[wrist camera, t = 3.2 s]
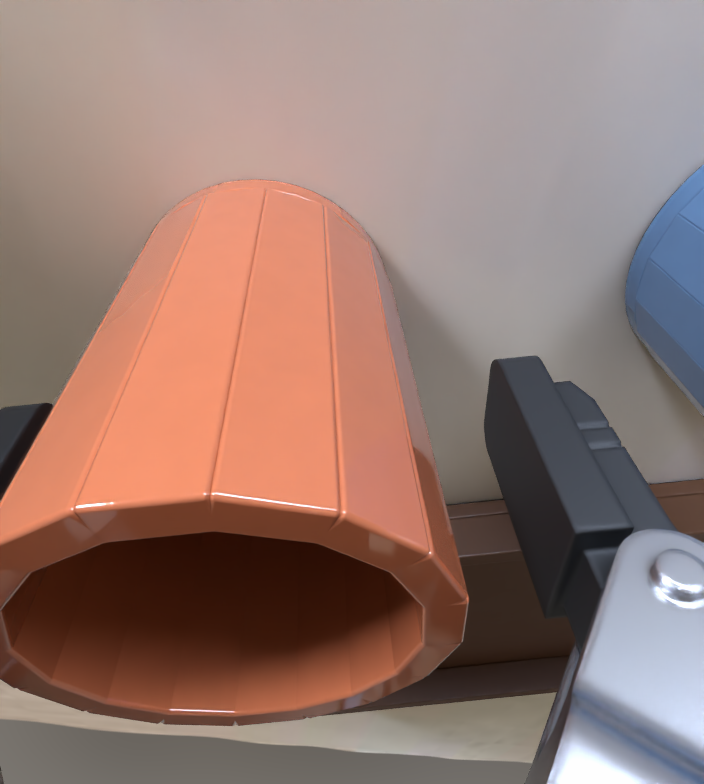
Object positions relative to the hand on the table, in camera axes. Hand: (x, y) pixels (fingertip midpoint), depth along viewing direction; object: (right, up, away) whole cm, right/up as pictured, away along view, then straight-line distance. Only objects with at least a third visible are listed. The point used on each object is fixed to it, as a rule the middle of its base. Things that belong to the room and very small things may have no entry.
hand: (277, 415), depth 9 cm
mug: (-1, +2, +3) cm, 4 cm away
